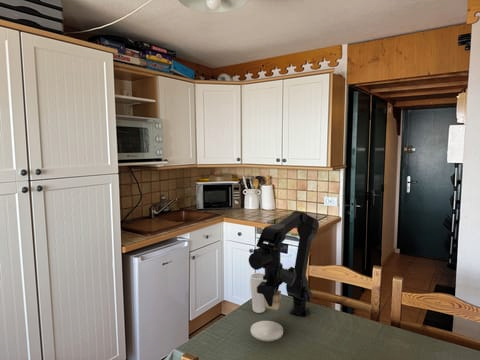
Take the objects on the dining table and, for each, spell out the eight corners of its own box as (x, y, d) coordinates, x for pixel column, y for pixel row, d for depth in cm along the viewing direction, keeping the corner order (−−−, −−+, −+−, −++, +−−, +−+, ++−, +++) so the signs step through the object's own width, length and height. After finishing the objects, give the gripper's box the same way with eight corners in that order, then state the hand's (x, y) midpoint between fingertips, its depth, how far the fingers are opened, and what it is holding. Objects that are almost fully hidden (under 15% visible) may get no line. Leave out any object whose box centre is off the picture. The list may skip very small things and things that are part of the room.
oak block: (267, 301, 128) (267, 288, 127) (280, 303, 126) (280, 290, 125) (263, 307, 123) (263, 294, 122) (277, 309, 121) (277, 296, 121)
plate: (256, 320, 133) (256, 318, 133) (286, 326, 129) (286, 324, 129) (245, 337, 122) (245, 334, 122) (277, 344, 118) (277, 341, 118)
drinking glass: (265, 315, 138) (265, 279, 136) (249, 313, 139) (249, 278, 137) (267, 307, 144) (267, 273, 142) (252, 305, 146) (251, 272, 144)
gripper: (288, 274, 111) (288, 319, 113) (299, 256, 128) (299, 295, 130) (256, 269, 115) (256, 313, 117) (271, 253, 132) (271, 291, 134)
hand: (272, 303), depth 124 cm, fingers closed on oak block, 5 cm apart
